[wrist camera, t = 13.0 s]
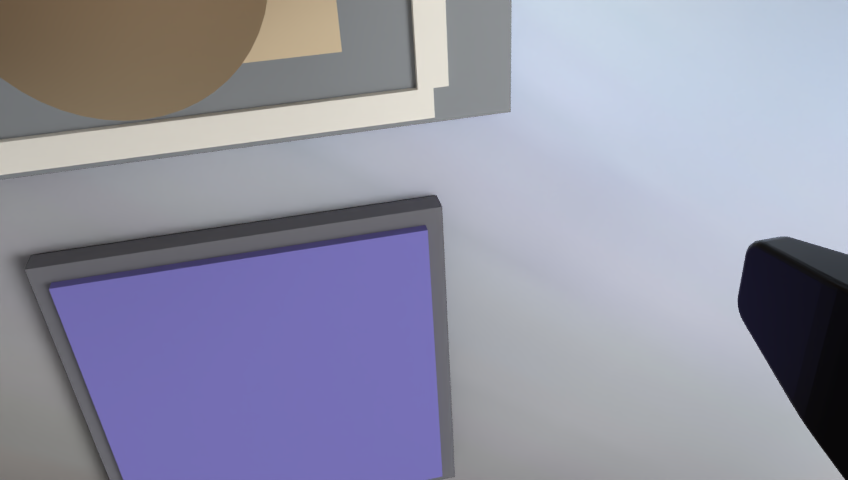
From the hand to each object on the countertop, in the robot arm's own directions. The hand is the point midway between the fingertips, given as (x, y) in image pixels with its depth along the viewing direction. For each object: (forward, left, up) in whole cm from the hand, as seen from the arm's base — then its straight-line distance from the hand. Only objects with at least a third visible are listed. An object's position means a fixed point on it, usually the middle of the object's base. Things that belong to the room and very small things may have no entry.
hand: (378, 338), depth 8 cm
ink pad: (-10, +2, -12) cm, 16 cm away
